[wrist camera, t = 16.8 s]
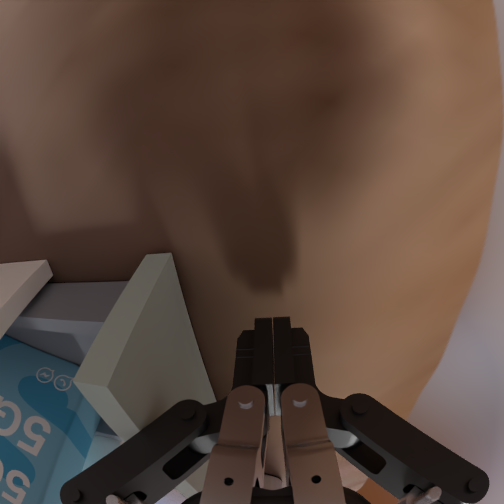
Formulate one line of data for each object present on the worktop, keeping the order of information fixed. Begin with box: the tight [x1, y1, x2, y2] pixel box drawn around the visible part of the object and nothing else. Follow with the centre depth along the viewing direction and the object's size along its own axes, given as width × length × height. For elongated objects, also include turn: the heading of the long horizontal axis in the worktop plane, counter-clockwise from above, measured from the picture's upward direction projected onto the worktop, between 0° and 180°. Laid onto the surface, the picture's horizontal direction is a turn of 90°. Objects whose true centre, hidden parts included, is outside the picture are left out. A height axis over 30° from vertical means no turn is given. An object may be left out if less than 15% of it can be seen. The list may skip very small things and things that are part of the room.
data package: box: [0, 334, 101, 504], centre depth 11 cm, size 12×4×12 cm, turn 79°
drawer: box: [5, 253, 217, 499], centre depth 14 cm, size 15×23×7 cm, turn 96°
